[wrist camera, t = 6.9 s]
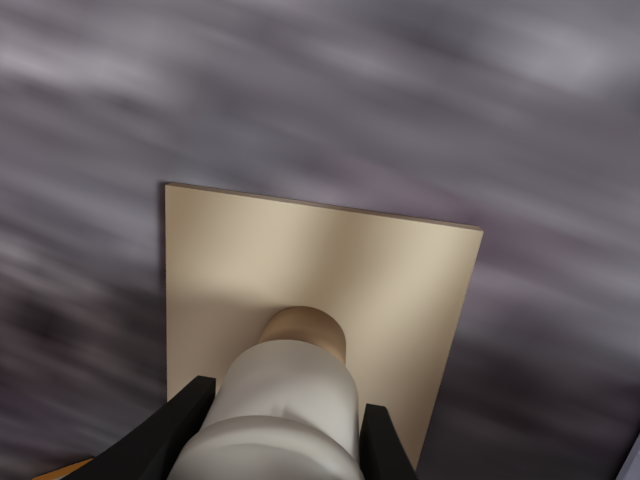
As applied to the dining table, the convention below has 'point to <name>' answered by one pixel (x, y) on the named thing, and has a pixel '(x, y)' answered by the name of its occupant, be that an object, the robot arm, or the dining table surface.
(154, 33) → the dining table surface
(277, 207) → the square wooden board
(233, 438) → the cap
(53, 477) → the supplement box
